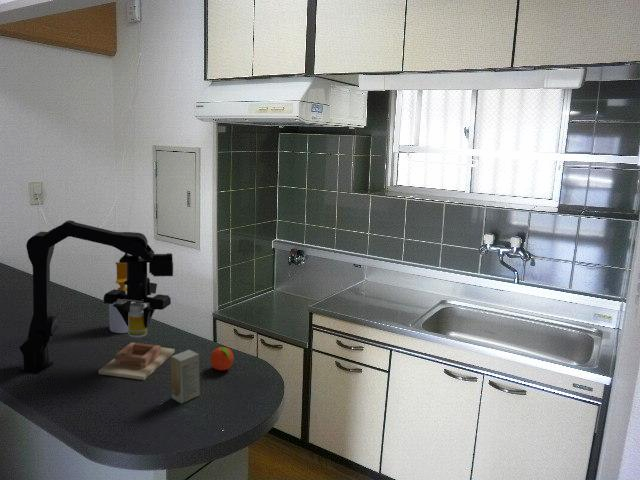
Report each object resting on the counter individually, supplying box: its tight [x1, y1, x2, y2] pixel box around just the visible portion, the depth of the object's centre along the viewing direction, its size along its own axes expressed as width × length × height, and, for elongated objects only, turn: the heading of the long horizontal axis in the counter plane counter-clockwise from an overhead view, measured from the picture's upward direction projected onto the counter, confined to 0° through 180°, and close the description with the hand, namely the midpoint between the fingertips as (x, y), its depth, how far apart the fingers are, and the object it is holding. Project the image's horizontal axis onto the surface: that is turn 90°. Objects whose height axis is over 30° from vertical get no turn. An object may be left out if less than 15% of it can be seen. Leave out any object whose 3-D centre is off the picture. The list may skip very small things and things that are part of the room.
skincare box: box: [170, 349, 200, 404], centre depth 139 cm, size 6×4×12 cm
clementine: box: [209, 346, 235, 371], centre depth 156 cm, size 8×7×7 cm
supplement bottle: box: [127, 302, 148, 338], centre depth 156 cm, size 5×5×10 cm
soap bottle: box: [108, 261, 135, 334], centre depth 181 cm, size 9×9×25 cm
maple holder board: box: [97, 341, 176, 381], centre depth 159 cm, size 20×14×4 cm
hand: (137, 326), depth 157 cm, fingers closed on supplement bottle, 5 cm apart
